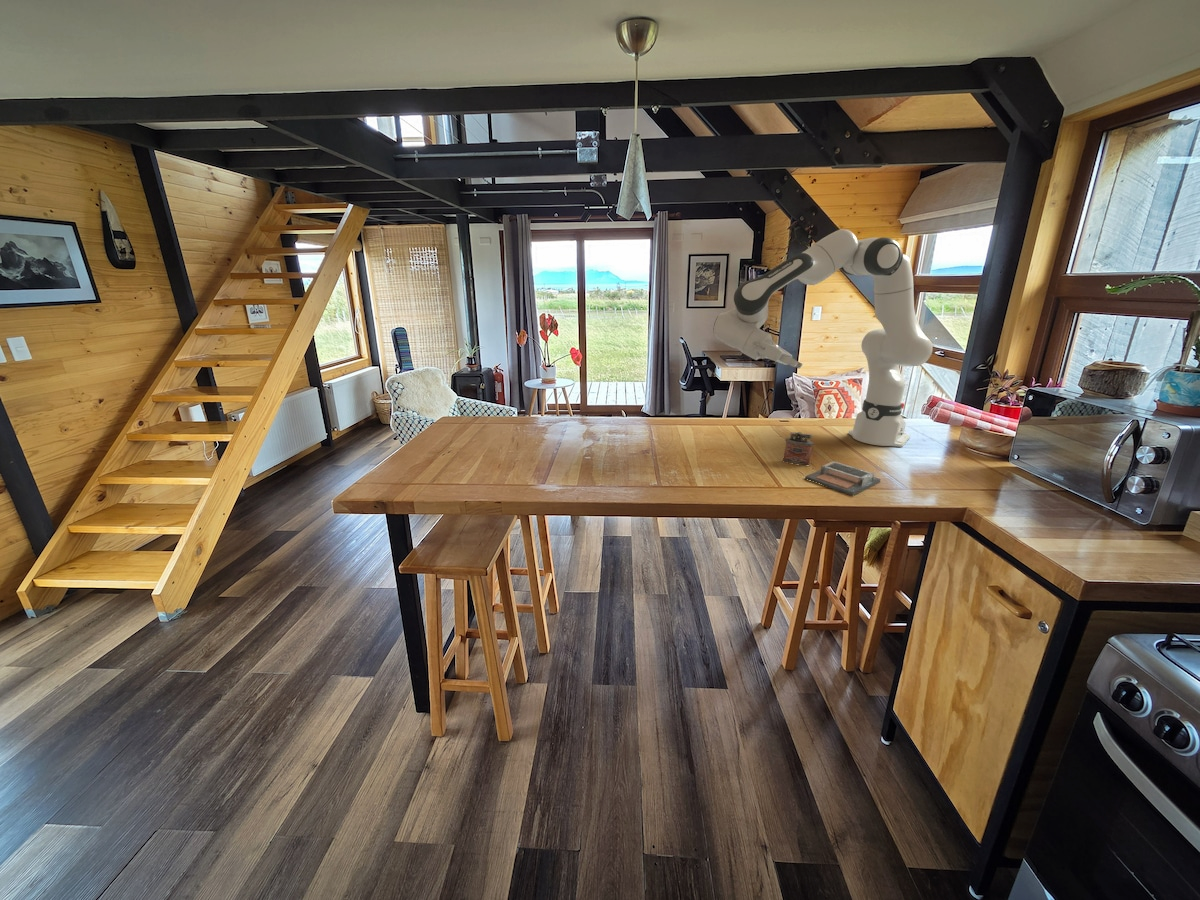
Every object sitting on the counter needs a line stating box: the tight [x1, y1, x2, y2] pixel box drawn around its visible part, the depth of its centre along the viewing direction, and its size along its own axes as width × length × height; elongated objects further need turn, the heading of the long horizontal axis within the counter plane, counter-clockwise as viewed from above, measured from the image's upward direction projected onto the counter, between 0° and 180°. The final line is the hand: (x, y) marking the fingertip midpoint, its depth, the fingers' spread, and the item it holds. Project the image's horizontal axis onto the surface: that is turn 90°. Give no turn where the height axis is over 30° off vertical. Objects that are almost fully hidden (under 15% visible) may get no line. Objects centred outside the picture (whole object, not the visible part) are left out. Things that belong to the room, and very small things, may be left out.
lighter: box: [782, 431, 814, 466], centre depth 151 cm, size 8×3×10 cm, turn 62°
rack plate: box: [804, 460, 881, 496], centre depth 139 cm, size 16×14×3 cm
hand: (798, 365), depth 147 cm, fingers open, 8 cm apart
